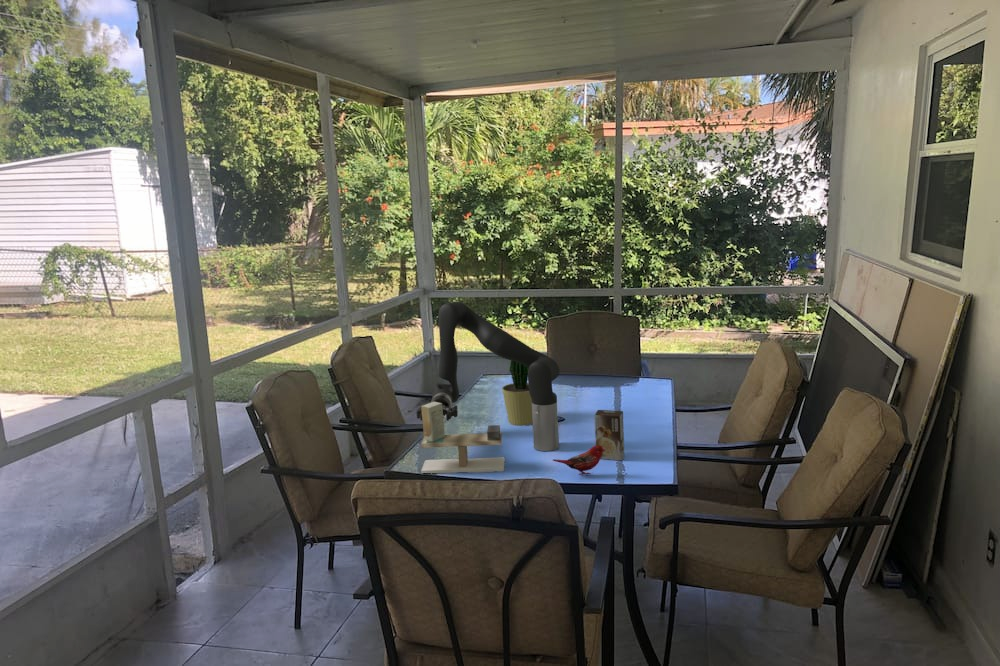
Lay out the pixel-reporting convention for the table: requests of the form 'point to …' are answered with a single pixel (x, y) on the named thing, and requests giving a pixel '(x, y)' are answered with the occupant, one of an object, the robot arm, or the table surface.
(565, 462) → the decorative bird figurine
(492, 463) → the beam stand
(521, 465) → the table surface
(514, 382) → the potted cactus
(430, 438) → the skincare box
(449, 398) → the robot arm
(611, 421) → the coffee box
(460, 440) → the balance beam
